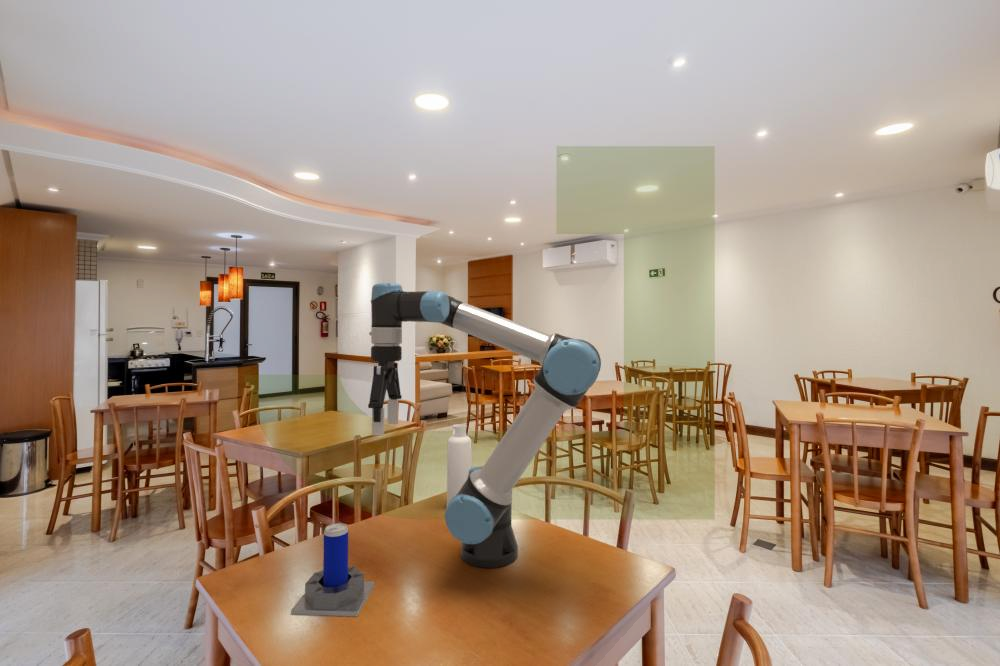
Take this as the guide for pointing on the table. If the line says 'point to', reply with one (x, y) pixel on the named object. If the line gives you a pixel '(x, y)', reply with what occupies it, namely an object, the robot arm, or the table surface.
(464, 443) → the bottle
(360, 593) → the socket
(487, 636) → the table surface
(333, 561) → the beverage can
